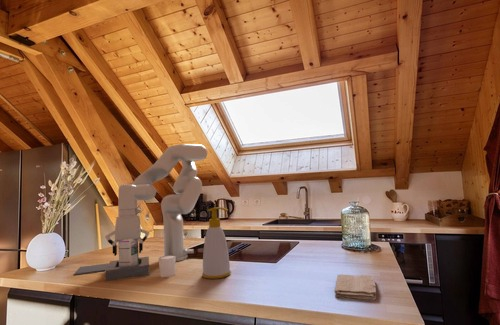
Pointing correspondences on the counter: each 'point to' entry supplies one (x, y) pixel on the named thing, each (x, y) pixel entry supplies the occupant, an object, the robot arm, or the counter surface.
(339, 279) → the washcloth
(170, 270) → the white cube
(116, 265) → the socket block
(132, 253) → the syrup box
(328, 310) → the counter surface
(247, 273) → the counter surface
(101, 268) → the rubber mat
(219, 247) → the soap bottle
